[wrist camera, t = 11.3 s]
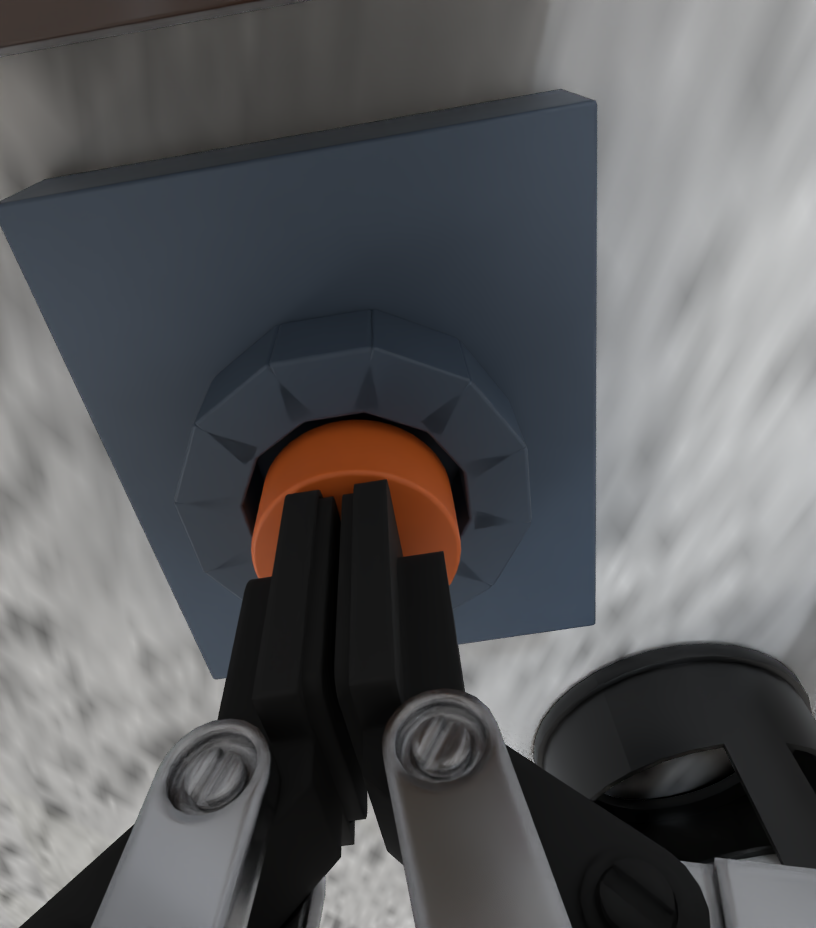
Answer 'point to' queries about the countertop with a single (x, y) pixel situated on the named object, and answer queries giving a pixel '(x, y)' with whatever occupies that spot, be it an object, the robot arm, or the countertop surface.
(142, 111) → the countertop surface
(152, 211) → the button block
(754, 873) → the robot arm
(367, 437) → the release button
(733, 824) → the french press
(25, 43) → the panel
